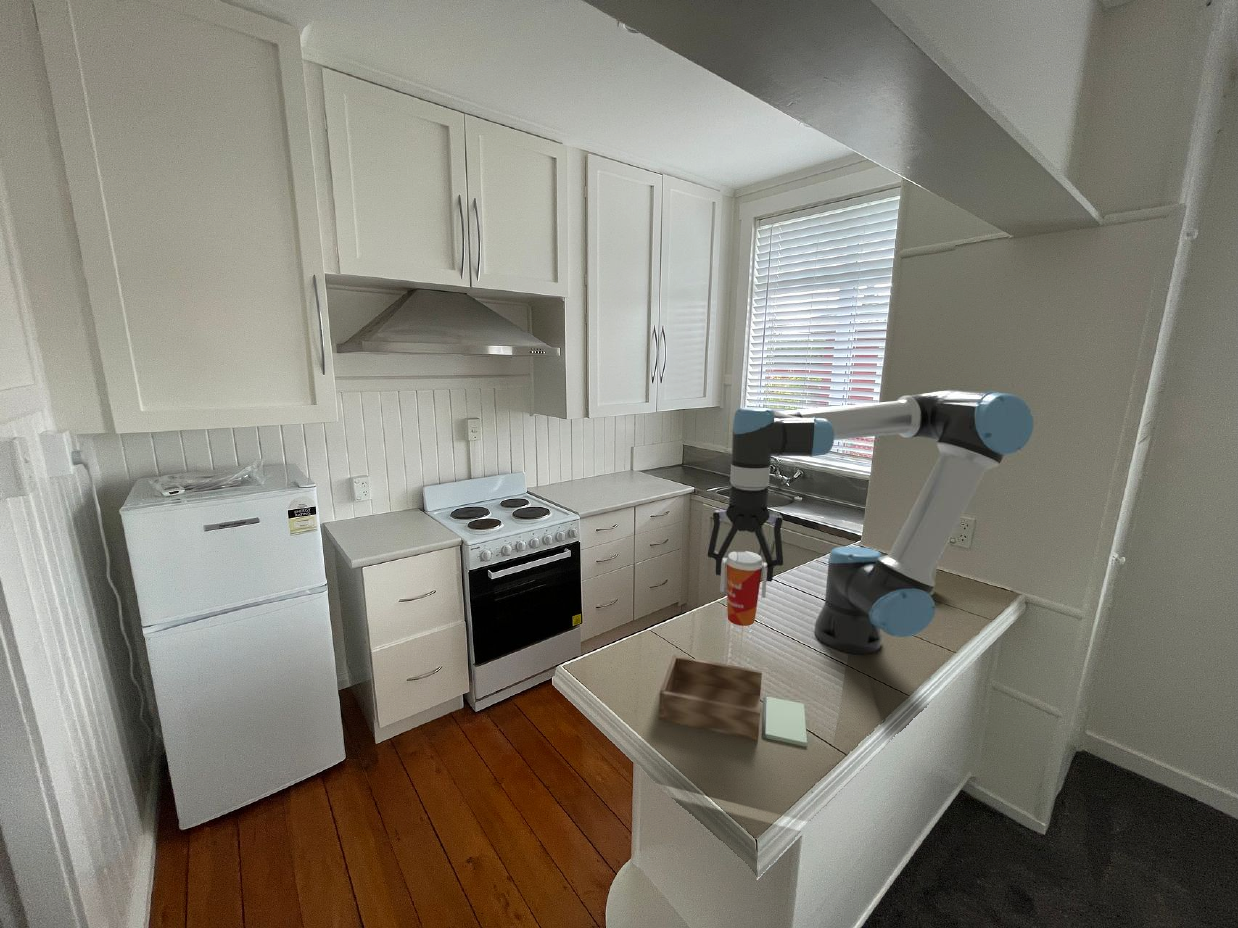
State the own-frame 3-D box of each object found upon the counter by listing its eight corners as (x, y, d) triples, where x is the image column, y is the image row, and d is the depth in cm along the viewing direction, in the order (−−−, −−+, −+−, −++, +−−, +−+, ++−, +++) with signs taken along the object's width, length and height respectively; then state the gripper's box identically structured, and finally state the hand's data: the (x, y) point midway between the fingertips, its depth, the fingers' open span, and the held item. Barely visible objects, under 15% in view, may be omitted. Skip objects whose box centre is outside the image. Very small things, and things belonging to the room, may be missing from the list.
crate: (759, 699, 102) (762, 670, 101) (757, 745, 90) (760, 712, 89) (672, 682, 107) (673, 654, 106) (658, 723, 95) (659, 692, 94)
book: (762, 702, 101) (803, 710, 99) (761, 741, 91) (806, 751, 88) (763, 695, 101) (803, 703, 99) (762, 733, 90) (807, 743, 88)
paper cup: (718, 611, 110) (721, 550, 107) (752, 609, 111) (756, 549, 108) (728, 629, 102) (732, 564, 100) (765, 628, 103) (770, 563, 100)
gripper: (802, 485, 101) (794, 591, 106) (700, 477, 107) (696, 578, 112) (804, 494, 94) (795, 607, 99) (695, 485, 100) (690, 592, 105)
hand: (742, 591), depth 105 cm, fingers closed on paper cup, 8 cm apart
